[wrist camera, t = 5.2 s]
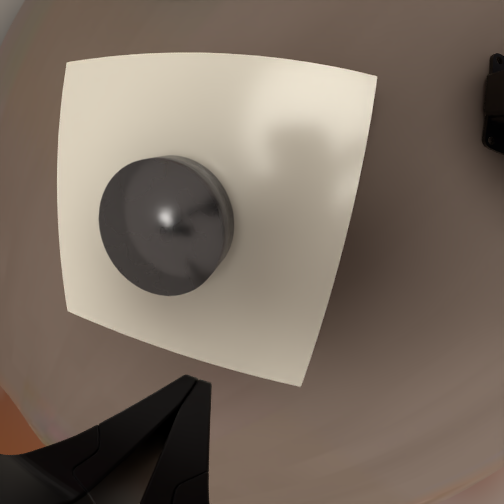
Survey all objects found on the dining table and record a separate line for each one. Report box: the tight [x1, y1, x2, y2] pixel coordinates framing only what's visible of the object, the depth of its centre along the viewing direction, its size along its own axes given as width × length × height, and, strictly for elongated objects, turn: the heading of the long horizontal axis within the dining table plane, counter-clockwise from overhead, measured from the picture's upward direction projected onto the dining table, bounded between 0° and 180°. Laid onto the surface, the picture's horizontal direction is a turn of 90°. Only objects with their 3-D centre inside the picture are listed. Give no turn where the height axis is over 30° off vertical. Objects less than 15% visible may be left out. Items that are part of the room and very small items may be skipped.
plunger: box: [99, 155, 234, 296], centre depth 18 cm, size 7×7×6 cm
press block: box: [57, 53, 377, 387], centre depth 19 cm, size 18×18×4 cm
